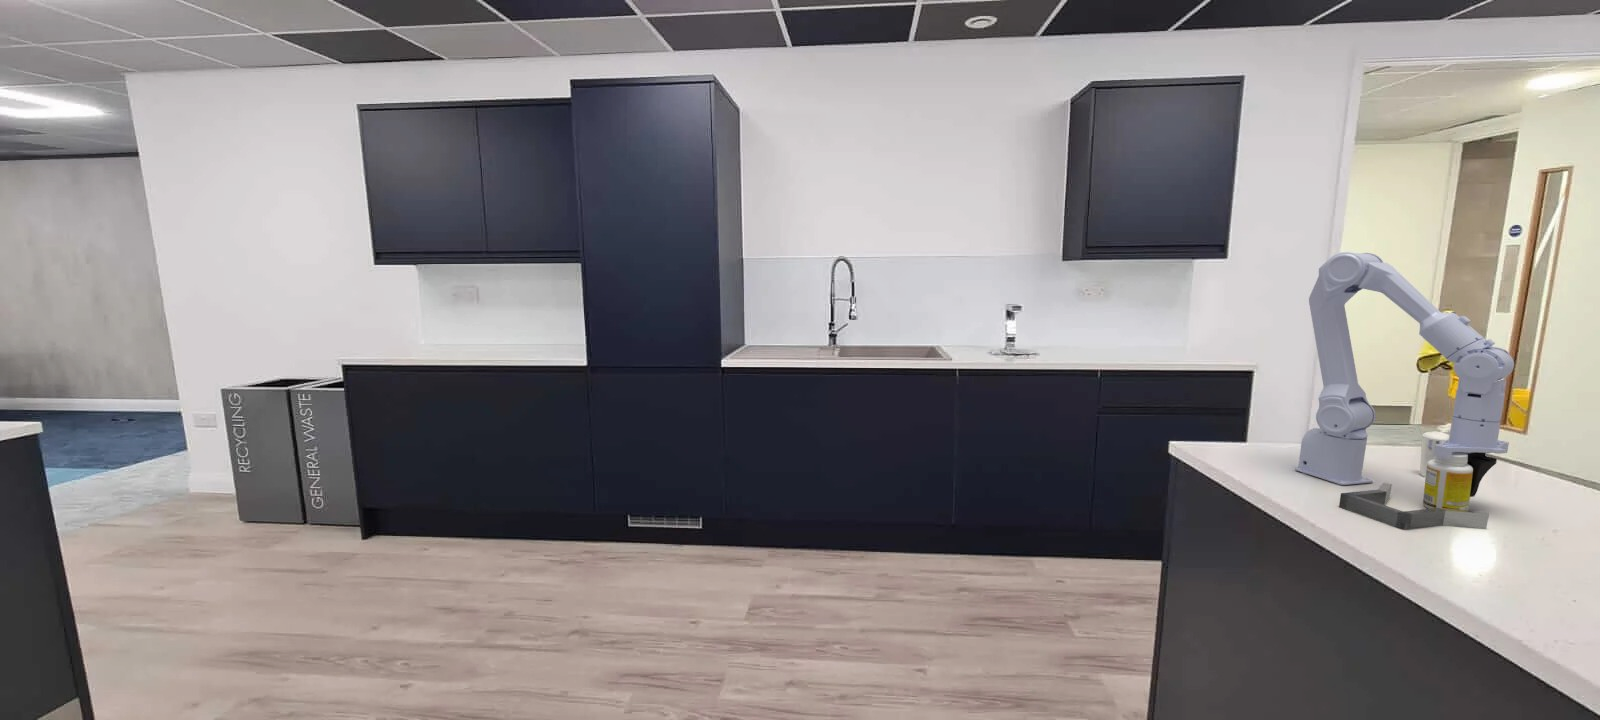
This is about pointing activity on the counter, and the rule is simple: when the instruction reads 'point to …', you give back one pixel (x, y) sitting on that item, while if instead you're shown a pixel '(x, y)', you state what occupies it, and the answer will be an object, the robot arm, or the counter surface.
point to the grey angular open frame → (1375, 508)
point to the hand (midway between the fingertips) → (1464, 494)
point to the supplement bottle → (1448, 482)
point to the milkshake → (1430, 447)
